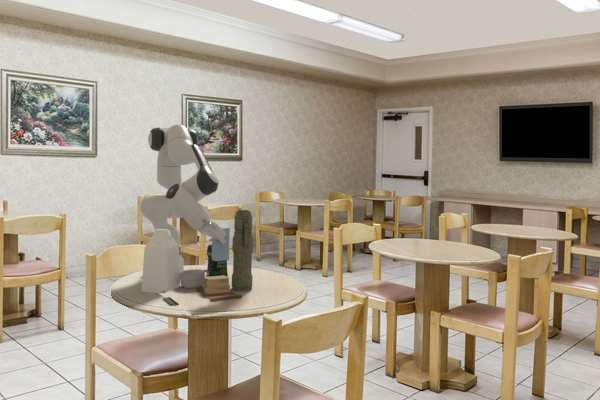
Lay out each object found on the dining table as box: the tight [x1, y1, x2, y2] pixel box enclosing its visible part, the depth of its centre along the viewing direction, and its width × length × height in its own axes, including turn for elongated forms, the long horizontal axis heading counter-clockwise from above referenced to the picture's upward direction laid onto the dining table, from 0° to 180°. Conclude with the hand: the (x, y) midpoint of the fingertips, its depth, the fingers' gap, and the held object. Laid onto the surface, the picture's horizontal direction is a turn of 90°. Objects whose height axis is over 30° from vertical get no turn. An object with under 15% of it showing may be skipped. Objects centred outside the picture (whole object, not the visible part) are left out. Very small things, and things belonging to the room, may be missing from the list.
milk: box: [141, 229, 181, 295], centre depth 225 cm, size 12×12×26 cm
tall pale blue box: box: [211, 226, 231, 261], centre depth 212 cm, size 4×6×13 cm, turn 122°
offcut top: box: [204, 276, 230, 287], centre depth 220 cm, size 5×9×3 cm, turn 121°
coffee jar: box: [206, 243, 229, 278], centre depth 238 cm, size 10×8×19 cm
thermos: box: [231, 209, 254, 292], centre depth 226 cm, size 9×12×35 cm
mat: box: [162, 296, 180, 306], centre depth 209 cm, size 10×10×1 cm
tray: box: [195, 287, 243, 302], centre depth 216 cm, size 18×13×2 cm
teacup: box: [180, 268, 209, 290], centre depth 230 cm, size 14×11×8 cm
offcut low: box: [202, 284, 231, 294], centre depth 220 cm, size 5×10×3 cm, turn 121°
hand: (222, 242), depth 212 cm, fingers closed on tall pale blue box, 3 cm apart
